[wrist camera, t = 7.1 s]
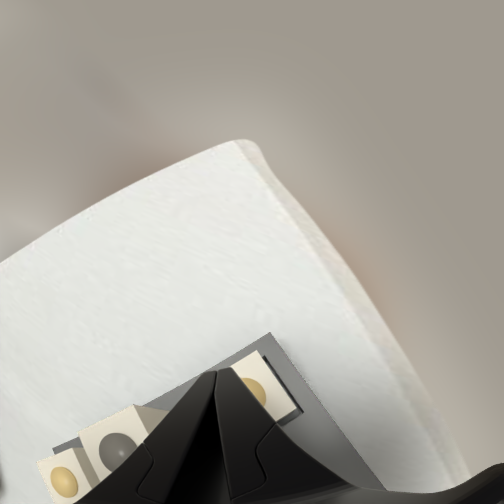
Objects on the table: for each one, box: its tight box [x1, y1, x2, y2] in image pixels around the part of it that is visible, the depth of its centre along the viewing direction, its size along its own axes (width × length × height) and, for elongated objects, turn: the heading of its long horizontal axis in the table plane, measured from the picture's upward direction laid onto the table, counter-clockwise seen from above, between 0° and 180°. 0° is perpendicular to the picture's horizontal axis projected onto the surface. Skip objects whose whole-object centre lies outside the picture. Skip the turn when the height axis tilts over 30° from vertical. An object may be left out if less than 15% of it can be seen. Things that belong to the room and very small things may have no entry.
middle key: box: [77, 405, 169, 482], centre depth 12 cm, size 3×3×6 cm
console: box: [52, 332, 387, 491], centre depth 15 cm, size 12×17×3 cm
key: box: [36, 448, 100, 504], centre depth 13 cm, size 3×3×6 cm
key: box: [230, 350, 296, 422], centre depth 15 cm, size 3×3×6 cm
